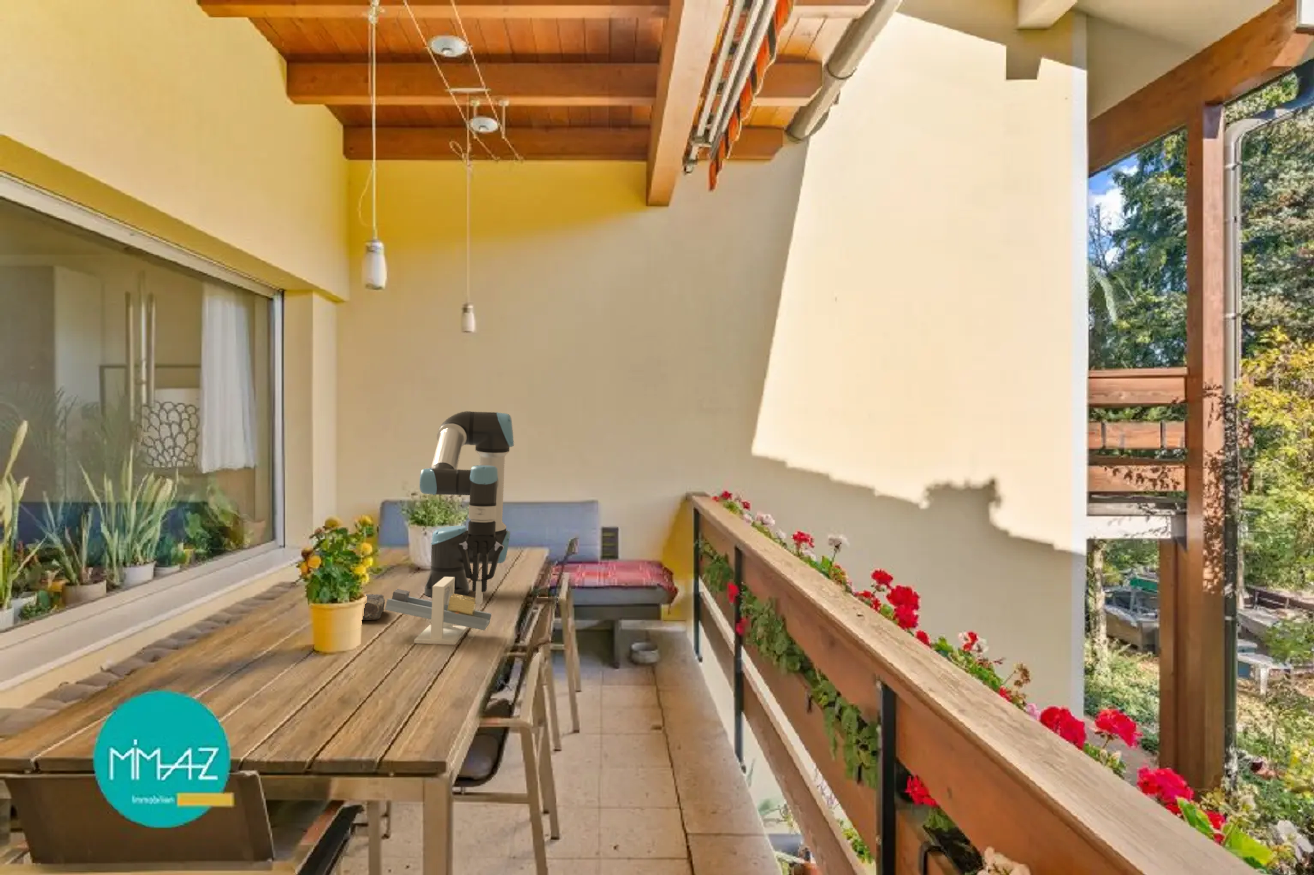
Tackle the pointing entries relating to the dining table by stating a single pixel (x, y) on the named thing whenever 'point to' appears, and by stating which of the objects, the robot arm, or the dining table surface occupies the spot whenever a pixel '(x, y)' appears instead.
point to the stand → (441, 618)
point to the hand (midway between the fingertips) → (478, 603)
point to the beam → (424, 609)
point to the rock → (373, 606)
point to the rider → (462, 604)
